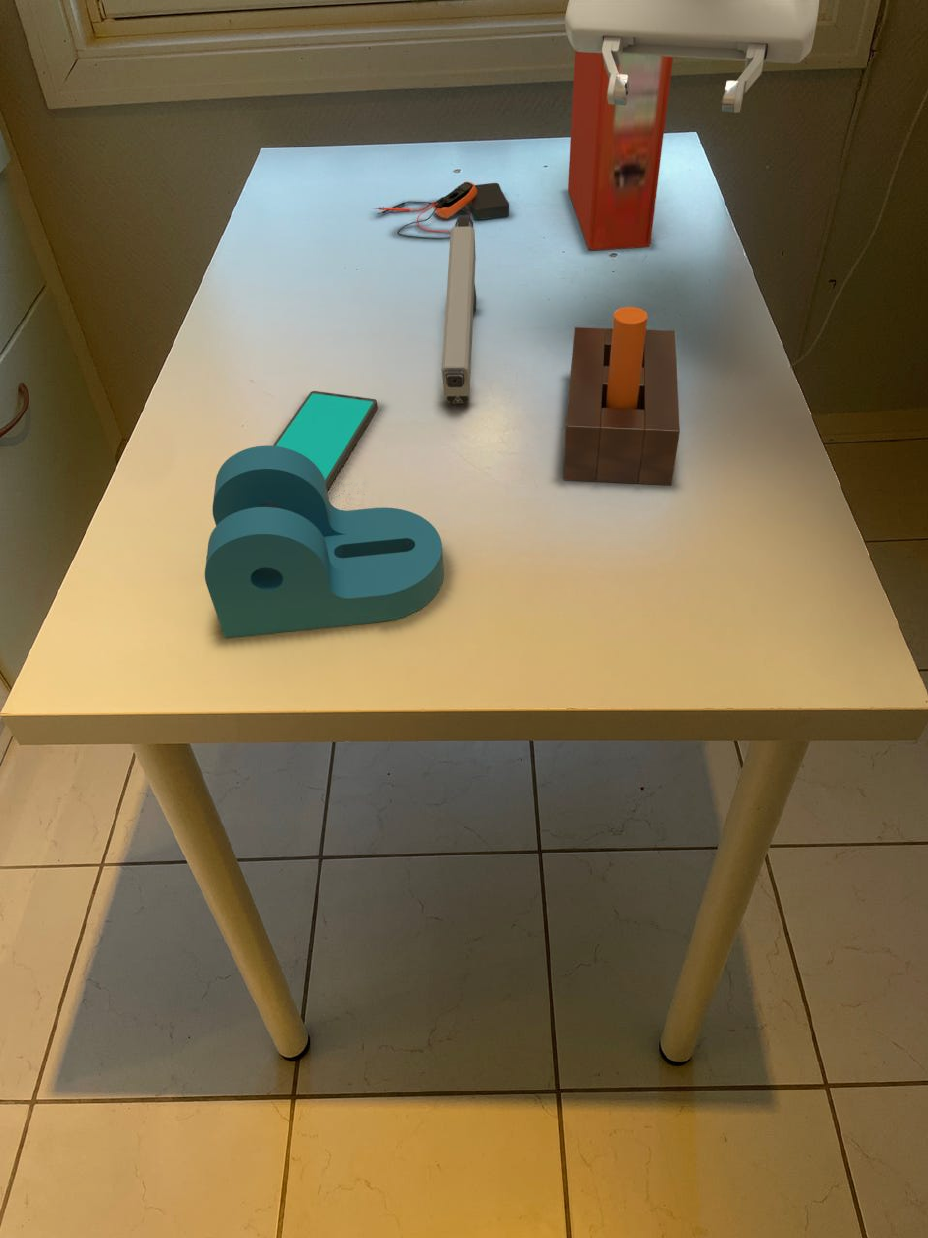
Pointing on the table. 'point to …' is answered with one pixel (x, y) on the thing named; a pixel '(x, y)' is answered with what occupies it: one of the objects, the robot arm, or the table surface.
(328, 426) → the smartphone
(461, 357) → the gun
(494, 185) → the multimeter
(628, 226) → the file binder
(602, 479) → the pen stand
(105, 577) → the table surface
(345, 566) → the camera mount
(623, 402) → the orange cylinder rod
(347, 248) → the table surface
